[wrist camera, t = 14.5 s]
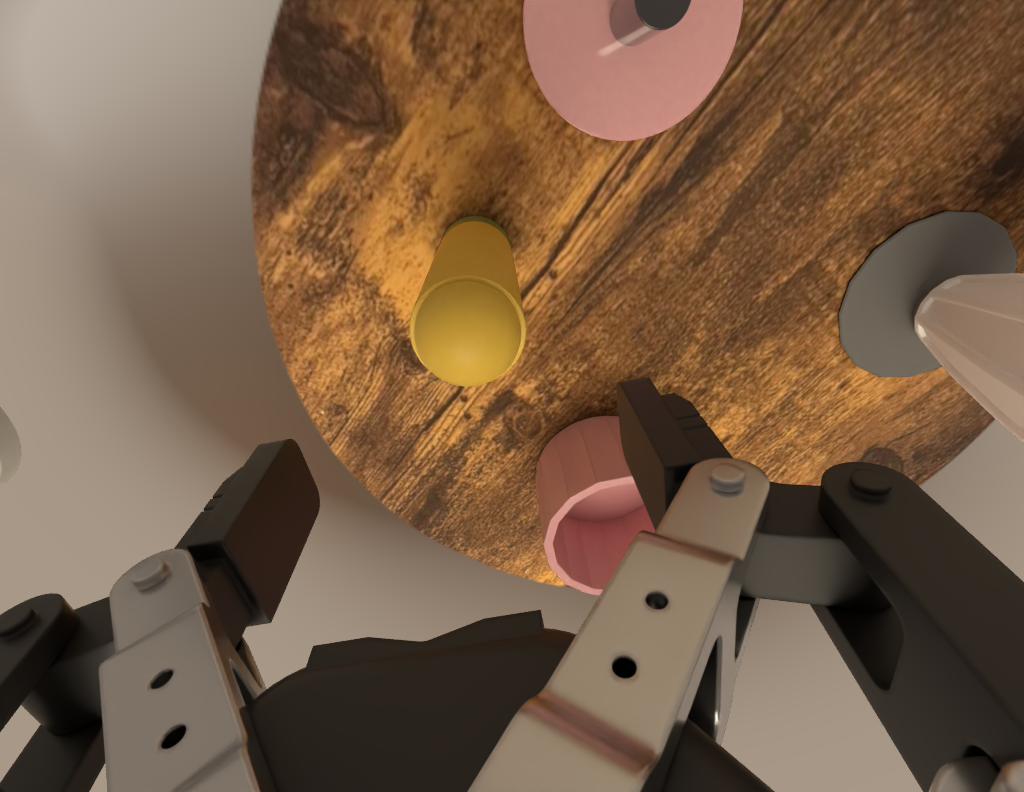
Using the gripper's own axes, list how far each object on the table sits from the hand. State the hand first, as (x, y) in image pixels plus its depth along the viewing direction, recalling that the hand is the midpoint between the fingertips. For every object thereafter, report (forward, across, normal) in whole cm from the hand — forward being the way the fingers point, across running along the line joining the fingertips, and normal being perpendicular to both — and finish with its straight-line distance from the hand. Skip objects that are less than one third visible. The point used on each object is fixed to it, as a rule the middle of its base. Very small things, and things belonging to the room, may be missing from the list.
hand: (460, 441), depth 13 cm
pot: (+21, -6, +18) cm, 29 cm away
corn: (+22, 0, 0) cm, 22 cm away
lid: (+21, -10, -10) cm, 25 cm away
